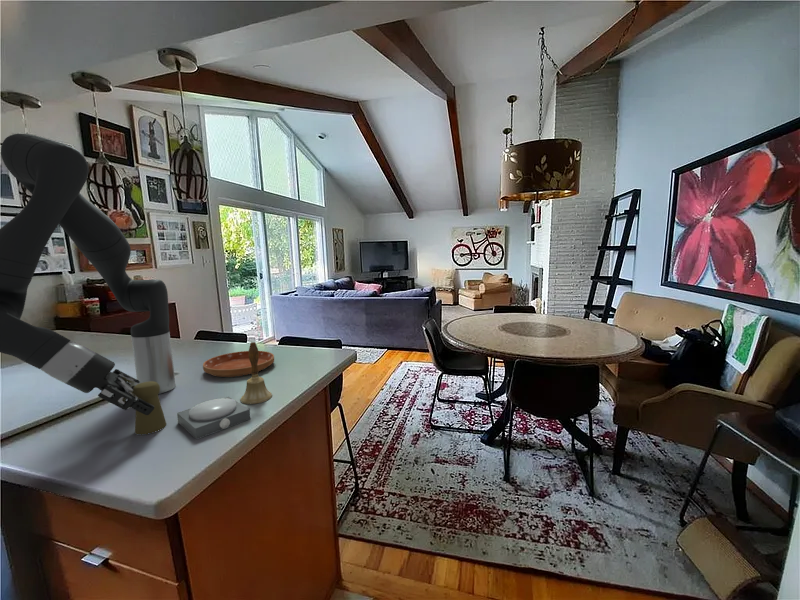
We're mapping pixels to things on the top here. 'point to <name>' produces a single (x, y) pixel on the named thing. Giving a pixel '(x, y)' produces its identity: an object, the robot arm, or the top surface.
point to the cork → (156, 417)
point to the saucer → (236, 364)
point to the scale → (212, 416)
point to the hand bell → (255, 381)
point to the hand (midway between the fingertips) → (152, 404)
